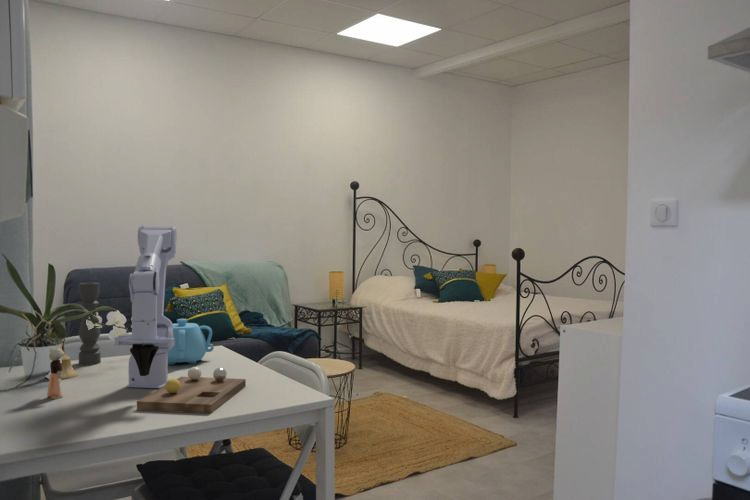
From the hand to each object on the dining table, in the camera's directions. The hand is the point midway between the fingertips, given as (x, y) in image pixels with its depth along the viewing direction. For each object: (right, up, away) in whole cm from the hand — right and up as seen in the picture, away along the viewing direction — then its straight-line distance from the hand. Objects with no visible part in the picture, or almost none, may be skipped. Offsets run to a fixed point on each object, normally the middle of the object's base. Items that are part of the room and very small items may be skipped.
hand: (144, 375), depth 147 cm
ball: (+7, -3, -1) cm, 8 cm away
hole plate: (+12, -6, +3) cm, 13 cm away
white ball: (+9, -2, +12) cm, 15 cm away
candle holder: (-33, -5, +40) cm, 52 cm away
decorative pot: (-5, -5, +44) cm, 45 cm away
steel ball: (+16, -2, +11) cm, 19 cm away
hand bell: (-32, -5, +23) cm, 40 cm away
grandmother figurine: (-23, -6, +2) cm, 24 cm away
